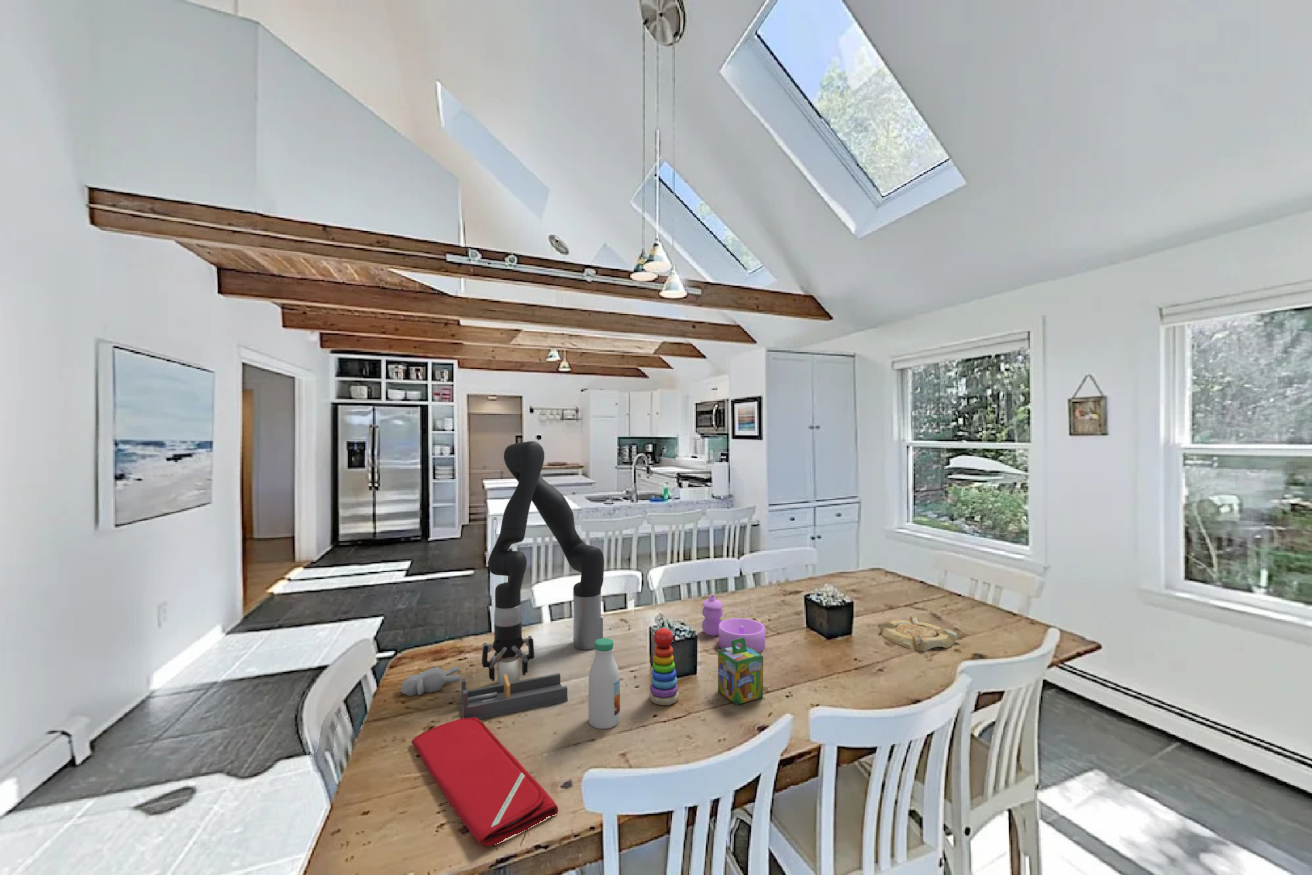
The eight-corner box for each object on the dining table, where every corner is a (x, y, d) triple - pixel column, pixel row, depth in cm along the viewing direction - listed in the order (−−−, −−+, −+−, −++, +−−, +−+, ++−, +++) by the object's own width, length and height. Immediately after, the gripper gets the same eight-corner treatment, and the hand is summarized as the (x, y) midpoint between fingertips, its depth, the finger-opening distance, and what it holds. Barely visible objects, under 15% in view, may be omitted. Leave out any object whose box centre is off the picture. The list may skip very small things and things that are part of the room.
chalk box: (736, 706, 137) (736, 649, 137) (716, 691, 145) (716, 637, 145) (764, 697, 142) (764, 643, 141) (743, 683, 150) (743, 631, 149)
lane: (559, 685, 149) (559, 660, 149) (567, 701, 140) (567, 674, 140) (461, 704, 139) (461, 677, 138) (463, 722, 130) (463, 694, 130)
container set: (774, 646, 175) (774, 607, 175) (743, 659, 165) (743, 617, 165) (719, 625, 194) (719, 589, 194) (689, 635, 185) (689, 598, 185)
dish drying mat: (478, 722, 131) (478, 707, 131) (560, 815, 99) (560, 796, 99) (410, 747, 121) (410, 731, 121) (478, 859, 89) (478, 837, 89)
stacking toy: (685, 698, 141) (685, 629, 141) (664, 710, 135) (664, 637, 135) (663, 688, 147) (663, 621, 146) (643, 699, 141) (642, 629, 141)
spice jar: (517, 676, 154) (517, 650, 154) (520, 685, 149) (520, 658, 149) (496, 680, 152) (496, 654, 152) (498, 689, 146) (498, 662, 146)
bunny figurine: (402, 672, 149) (458, 657, 154) (404, 689, 149) (461, 674, 154) (399, 687, 140) (459, 671, 145) (401, 706, 140) (461, 689, 145)
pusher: (506, 692, 142) (506, 674, 142) (510, 704, 136) (510, 685, 135) (463, 701, 137) (463, 682, 137) (465, 713, 131) (465, 693, 131)
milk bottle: (607, 733, 125) (607, 650, 125) (582, 724, 129) (581, 643, 129) (626, 718, 131) (625, 638, 131) (601, 709, 136) (601, 632, 135)
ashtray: (971, 653, 170) (971, 637, 170) (897, 652, 170) (897, 637, 170) (934, 626, 194) (934, 612, 194) (868, 625, 194) (869, 612, 194)
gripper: (531, 612, 156) (531, 667, 157) (480, 619, 151) (481, 676, 151) (535, 621, 149) (536, 678, 150) (483, 628, 144) (483, 687, 144)
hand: (508, 677), depth 150 cm, fingers open, 8 cm apart
